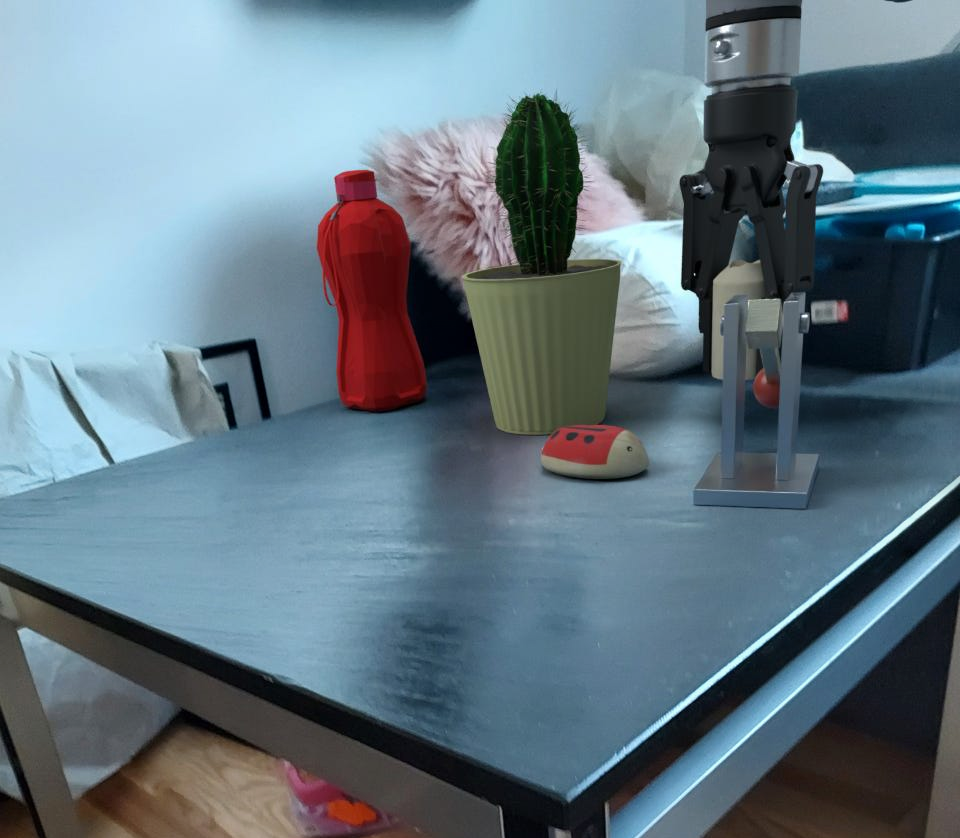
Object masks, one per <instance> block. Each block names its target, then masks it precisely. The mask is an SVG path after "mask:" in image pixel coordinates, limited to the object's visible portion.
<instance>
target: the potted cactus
mask: <svg viewBox="0 0 960 838" xmlns="http://www.w3.org/2000/svg"><path fill="white" fill-rule="evenodd" d="M542 91H543V89H542V88H541V89H540V92H537V93H536V94H533V95H531V93H530V94H529V95H527V93H526V92H523V94H524V95H525V96H524V97H521V98H520V99H519V102H516V100H515V99H513V98H510V99H511V101H512V102H513V103H512V105H514V106H513V108H512V107H511V106H510V104H509V103H506V105H508V106H507V107H508V108H507V111H508V112H509V113H507V112H505V113H503V116H505V117H506V118H505V117H503V120H504V123H503V122H501V123H502V125H503V126H505V128H502V129H503V132H502V134H500V133H499V134H500V136H501V139H500V140H498V138H497V137H495V138H496V139H495V140H497V142H498V144H497V146H496V148H495V147H493V146H486V147H488V148H491V149H493V150H495V151H496V152H497V154H496V157H495V156H493V159H492V160H493V161H495V163H494V162H490V161H489V162H488V161H486V163H488V164H491V165H494V166H493V169H494V170H491V173H494V174H495V175H491V174H490V176H489V175H486V174H489V173H490V171H485V174H484V172H482V173H481V175H484V176H485V177H487V178H488V179H489V180H491V181H490V182H489V181H487V182H486V184H494V185H492V186H491V188H492V190H489V193H490V192H491V193H492V192H495V194H496V198H495V196H493V197H492V199H491V200H493V201H500V200H501V201H502V205H503V206H502V207H501V208H499V209H498V210H497V211H496V212H495V213H494V214H493V215H492V217H494V216H495V215H496V214H497V213H499V215H498V216H500V217H499V218H498V221H500V220H501V221H502V220H507V221H506V222H504V223H503V227H504V226H505V227H504V229H502V230H501V232H502V233H503V235H506V236H505V237H504V238H503V239H501V241H504V239H508V240H509V239H511V243H512V244H510V245H509V246H507V247H506V249H507V248H508V249H510V248H513V250H512V251H511V252H509V253H508V255H509V254H511V253H513V252H514V254H515V256H516V257H514V258H512V259H511V260H508V261H507V262H506V264H507V263H510V262H511V263H510V264H509V265H504V266H503V265H502V266H496V267H495V266H494V267H489V268H483V269H479V270H474V271H470V272H467V273H465V274H462V275H461V280H463V282H464V289H465V290H464V291H465V295H466V300H467V303H468V308H469V312H470V318H471V321H472V325H473V329H474V334H475V339H476V343H477V347H478V352H479V356H480V357H479V358H480V361H481V365H482V370H483V374H484V378H485V382H486V388H487V392H488V396H489V397H488V398H489V401H490V405H491V406H490V407H491V410H492V414H493V420H494V423H495V425H496V428H497V429H498V430H500V431H502V432H505V433H509V434H514V435H527V436H542V435H543V436H544V435H545V436H546V435H551V434H552V433H554V432H555V431H556V430H557V429H559V428H562V427H566V426H573V425H593V424H595V425H600V423H602V422H603V421H604V419H605V416H606V410H607V402H608V401H607V399H608V391H609V382H610V373H611V362H612V355H613V346H614V338H615V337H614V336H615V327H616V319H617V310H618V309H617V308H618V300H619V292H620V284H621V265H622V261H620V260H618V259H610V258H609V259H608V258H583V259H582V258H580V259H578V258H577V259H570V257H571V256H574V252H575V254H576V253H577V251H576V249H575V248H574V246H573V245H574V244H577V242H575V239H576V235H580V236H584V234H583V233H580V234H579V233H576V231H578V232H579V231H580V232H582V231H583V230H584V225H583V224H580V225H579V224H578V226H579V227H578V226H577V221H580V218H578V215H579V214H578V211H579V213H581V212H582V211H583V212H584V211H586V212H587V209H583V208H580V207H578V205H580V204H581V202H579V197H580V199H581V201H584V199H583V197H582V195H580V194H582V193H584V195H586V196H587V194H586V193H585V192H583V190H584V191H586V192H589V190H588V189H586V188H590V185H589V186H587V185H584V183H586V184H593V183H595V181H594V180H585V179H590V177H592V174H590V175H588V176H587V173H588V172H589V171H590V170H588V169H587V166H585V163H583V162H582V160H584V157H581V156H582V155H584V154H582V153H583V152H585V150H584V149H586V147H587V144H584V145H582V147H581V148H579V143H580V144H581V143H582V142H586V141H587V139H586V140H585V139H582V140H578V139H579V138H581V136H578V135H577V133H576V132H577V131H578V130H580V129H581V126H579V122H577V123H575V124H574V125H572V123H574V120H573V119H574V118H575V117H576V116H577V115H576V114H574V113H575V112H576V111H577V110H578V108H576V109H575V110H574V111H573V108H574V107H572V109H571V110H570V112H568V109H569V106H568V103H565V105H564V106H563V107H561V101H558V89H556V90H555V93H554V96H553V100H552V99H549V98H548V96H547V95H546V94H542ZM507 95H508V93H507ZM530 96H531V97H530ZM508 97H510V96H509V95H508ZM518 97H520V96H519V95H518ZM564 101H565V100H564ZM564 101H562V103H563V102H564ZM569 103H571V100H570V101H569ZM566 106H567V108H566ZM512 109H514V110H512ZM562 109H564V110H563V111H562ZM565 109H566V110H565ZM510 114H511V115H510ZM573 114H574V115H573ZM500 115H502V112H501V113H500ZM572 115H573V116H572ZM580 125H583V124H582V123H581V124H580ZM584 137H585V136H584V135H583V136H582V138H584ZM580 150H584V151H581V152H580ZM580 164H581V165H583V166H585V167H584V168H583V169H582V170H581V169H580ZM489 168H490V169H492V166H491V167H489ZM587 171H588V172H587ZM584 180H585V181H584ZM493 187H495V188H493ZM493 198H494V199H493ZM500 210H501V211H500ZM580 210H581V211H580ZM500 214H501V215H500ZM501 217H503V218H501ZM581 221H583V222H586V220H584V219H581ZM586 230H588V229H586ZM588 231H589V230H588ZM510 236H511V237H510ZM572 252H573V253H572ZM513 260H515V261H513Z"/></svg>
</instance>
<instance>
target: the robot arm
mask: <svg viewBox="0 0 960 838" xmlns="http://www.w3.org/2000/svg"><path fill="white" fill-rule="evenodd" d="M884 1H885V2H893V3H895V4H900V3H908V2H912V1H913V0H884ZM802 5H803V0H705V33H704V85H705V87H706V88H708V89H711V94H709V95H706V97H705V99H704V100H703V127H702V128H703V129H702V130H703V132H702V135H703V141H704V143H705V144H707V146H708V154H707V158H706V160H705V162H704V165H703V168H702V169H700V170H698V171H696V172H695V173H689V174H682V175H681V176H680V178H679V182H678V183H679V184H678V185H679V189H680V193H681V198H682V202H683V209H682V210H683V211H682V212H683V213H682V238H681V239H682V240H681V241H682V242H681V267H680V268H681V269H680V275H681V276H680V287H681V289H682V290H683V291H686V292H687V291H690V292H691V293H693V294H695V296H696V297H697V299H698V331H699V334H702V372H705V373H712V319H713V280H714V279H715V278H716V277H717V276H718V275H719V274H720V273H721V272H722V271H723V270H724V269H725V268H726V267H727V266H728V265H729V264H730V261H731V257H732V253H733V249H734V244H735V240H736V236H737V231H738V228H739V224H740V221H741V220H742V219H743V218H744V216H745V213H746V212H747V217H748V218H747V219H748V220H749V221H750V222H751V223H752V225H753V230H754V235H755V240H756V247H757V250H758V252H757V253H758V257H759V260H760V263H761V269H762V274H763V280H764V285H765V291H766V297H763V298H761V299H781V304H782V311H783V312H784V302H785V300H786V299H787V298H788V297H789V295H790V294H791V293H797V292H805V293H807V292H811V290H812V289H813V288H814V286H815V285H814V284H815V255H816V254H815V253H816V218H817V217H816V216H817V195H818V192H819V188H820V184H821V182H822V178H823V176H824V167H823V166H822V165H821V164H820V163H815V164H814V163H813V164H807V163H803V162H800V161H798V160H796V158H795V155H794V152H793V148H792V144H791V142H792V137H793V135H794V133H795V131H796V128H797V111H798V108H797V107H798V92H799V90H798V89H796V86H795V85H791V81H792V79H795V78H797V76H798V75H799V74H800V63H801V61H800V59H801V36H802V35H801V33H802V14H803V13H802V12H803V11H802ZM783 187H784V188H785V189H786V190H787V192H786V196H785V199H784V194H783ZM711 192H713V193H712V194H711ZM784 216H785V217H784ZM782 333H783V325H782ZM778 351H779V357H780V363H781V353H782V334H781V343H780V348H778ZM763 368H764V367H763V362H762V357H761V353H760V349H757V353H756V376H757V374H758V373H759V372H760V371H761V370H762V369H763Z"/></svg>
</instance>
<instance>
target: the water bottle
mask: <svg viewBox="0 0 960 838" xmlns="http://www.w3.org/2000/svg"><path fill="white" fill-rule="evenodd" d="M375 177H376V176H375V171H373V170H370V169H355V170H345V171H341V172H340V173H338V174H337V175H335V176H334V177H333V178H334V179H333V180H334V188H335V193H336V195H335V196H336V201H337V203H336V204H334V205H333V206H332V207H331V208H330V209H328V211H327V212H326V213H325V214H324V215H323V217H322V218H321V220H320V221H319V223H318V225H317V239H316V251H317V254H318V258H319V262H320V266H321V268H322V286H323V292H324V297H325V300H326V302H327V304H328V305H329V306H332V307H336V313H337V318H338V332H337V333H338V334H337V352H336V353H337V354H336V371H335V372H336V382H337V392H338V396H339V399H340V401H341V404H342V405H343V406H345V407H346V408H348V409H353V410H362V411H363V410H364V411H368V412H369V411H370V412H375V413H376V412H387V411H388V412H389V411H392V410H395V409H399V408H401V407H404V406H408V405H411V404H415V403H418V402H420V401H422V399H424V398H425V396H426V393H427V387H428V382H427V376H426V370H425V369H426V368H425V363H424V360H423V357H422V353H421V351H420V348H419V344H418V341H417V339H416V335H415V333H414V329H413V326H412V323H411V320H410V317H409V314H408V303H407V302H408V301H407V292H408V283H409V281H408V280H409V270H410V261H411V260H410V259H411V248H412V244H411V241H410V238H409V234H408V231H407V228H406V225H405V221H404V218H403V216H402V215H401V214H400V213H399V212H398V211H397V210H396V209H395V208H394V207H393V206H392V205H389V204H388V203H386V202H384V201H383V200H381V199H379V198H378V191H377V183H376V182H377V181H378V180H377V179H376V178H375ZM326 281H327V282H326ZM327 284H328V286H329V289H330V292H331V294H332V298H333V300H334V304H333V303H331V300H330V298H329V296H328V291H327Z"/></svg>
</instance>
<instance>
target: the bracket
mask: <svg viewBox="0 0 960 838" xmlns="http://www.w3.org/2000/svg"><path fill="white" fill-rule="evenodd" d="M805 306H806V292H797V293H791V294H790V295H789V297H788V298H787V299H786V300H785V302H784V312H783V333H782V353H781V374H780V395H779V408H778V416H777V417H778V419H777V437H776V438H777V439H776V452H744V436H745V406H746V405H745V403H746V380H745V377H746V346H747V339H746V334H745V326H746V317H747V309H748V295H734V296H733V297H732V298H731V299H730V300H729V301H728V302H726V303H725V304H724V315H723V316H722V317H721V323H720V333H721V335H722V336H724V343H723V380H722V389H721V390H722V394H721V397H722V399H721V400H722V401H721V440H720V451H717V452H716V453H715V455H714V457H713V458H712V460H711V461H710V463H709V465H708V466H707V468H706V469H705V471H704V473H702V475H701V477H700V479H699V480H698V481H697V483H696V485H695V486H694V488H693V491H692V492H693V493H692V495H693V496H692V497H693V498H692V504H693V505H694V506H695V505H696V506H717V507H719V506H720V507H741V508H742V507H745V508H766V509H767V508H770V509H771V508H772V509H792V510H793V509H795V510H796V509H797V510H798V509H799V510H806V509H807V506H808V503H809V500H810V496H811V494H812V490H813V488H814V483H815V480H816V477H817V474H818V471H819V465H820V454H819V453H797V449H798V448H797V447H798V428H799V413H800V395H801V377H802V360H803V343H804V334H808V333H809V329H810V312H808V311H807V312H805V309H806V307H805Z"/></svg>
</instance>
